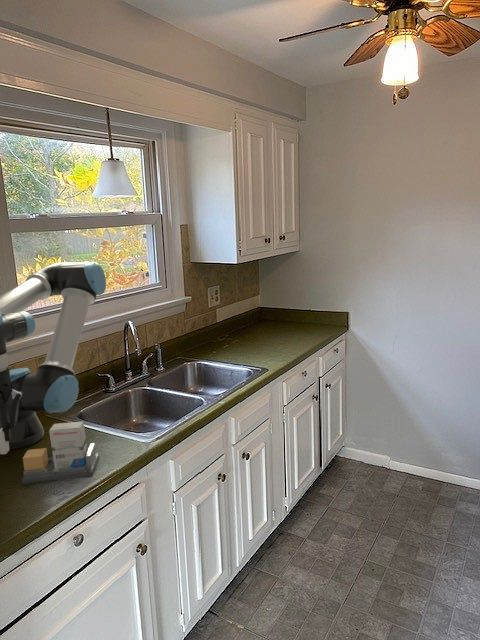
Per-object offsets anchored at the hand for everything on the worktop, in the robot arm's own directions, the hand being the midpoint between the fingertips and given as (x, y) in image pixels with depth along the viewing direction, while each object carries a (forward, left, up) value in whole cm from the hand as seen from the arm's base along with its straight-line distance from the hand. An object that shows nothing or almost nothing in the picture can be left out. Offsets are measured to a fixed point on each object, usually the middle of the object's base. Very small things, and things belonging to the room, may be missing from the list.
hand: (5, 451), depth 134 cm
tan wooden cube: (0, +8, -6) cm, 10 cm away
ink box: (0, +17, -6) cm, 18 cm away
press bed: (0, +15, -7) cm, 17 cm away
